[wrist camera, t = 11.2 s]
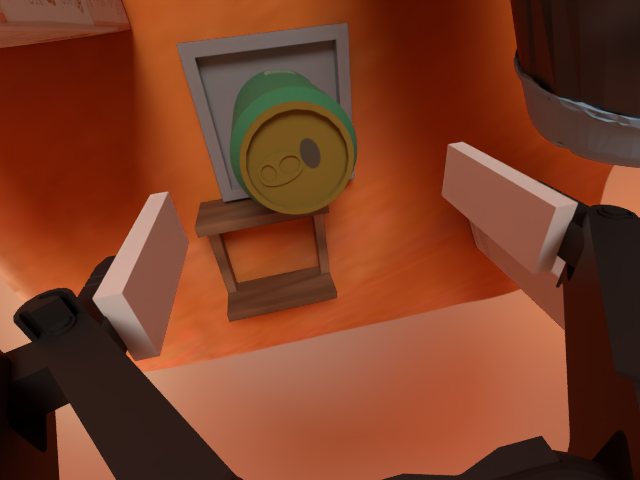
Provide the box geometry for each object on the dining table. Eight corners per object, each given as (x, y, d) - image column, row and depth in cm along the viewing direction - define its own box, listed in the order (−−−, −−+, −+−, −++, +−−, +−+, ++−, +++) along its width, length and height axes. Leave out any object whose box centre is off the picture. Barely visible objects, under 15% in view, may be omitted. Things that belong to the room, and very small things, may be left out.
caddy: (200, 202, 33) (194, 228, 28) (317, 182, 34) (328, 203, 30) (230, 291, 39) (229, 321, 35) (327, 270, 41) (337, 298, 36)
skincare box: (518, 225, 43) (635, 309, 30) (472, 249, 44) (568, 340, 31) (511, 174, 38) (646, 247, 26) (460, 201, 39) (567, 285, 26)
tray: (179, 42, 25) (176, 43, 24) (341, 22, 27) (347, 22, 25) (224, 193, 33) (223, 201, 31) (349, 171, 34) (354, 178, 33)
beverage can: (334, 141, 31) (377, 193, 21) (258, 174, 32) (265, 240, 22) (304, 51, 27) (340, 64, 17) (215, 90, 27) (200, 126, 17)
